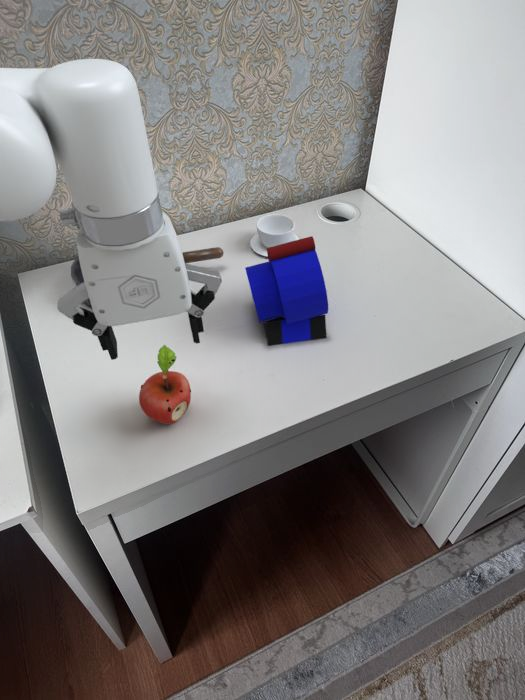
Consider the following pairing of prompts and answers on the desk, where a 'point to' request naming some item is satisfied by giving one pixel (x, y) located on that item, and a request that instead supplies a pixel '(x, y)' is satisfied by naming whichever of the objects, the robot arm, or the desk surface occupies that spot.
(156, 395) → the apple
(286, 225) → the teacup
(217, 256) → the pan handle
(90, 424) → the desk surface
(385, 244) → the desk surface
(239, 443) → the desk surface
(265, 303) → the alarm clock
